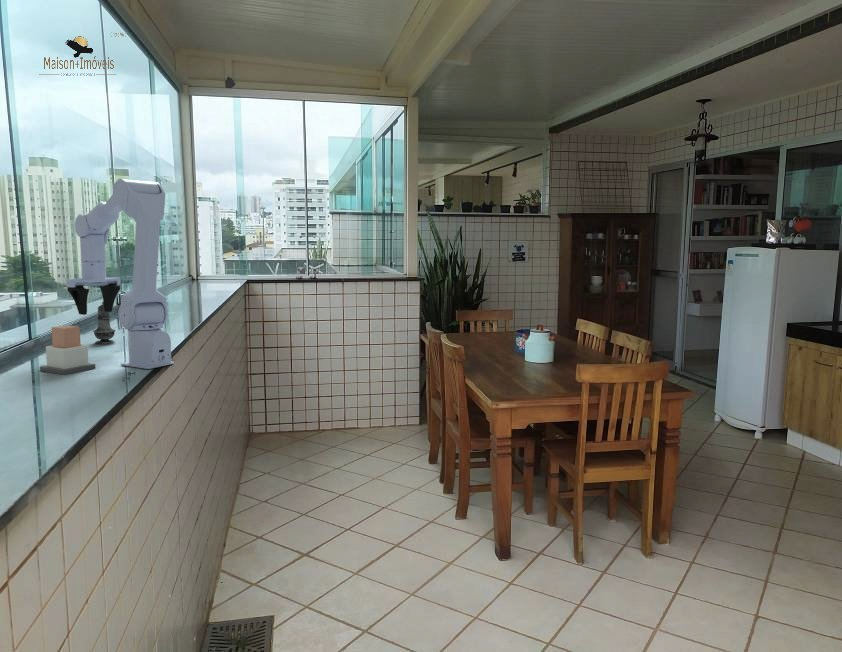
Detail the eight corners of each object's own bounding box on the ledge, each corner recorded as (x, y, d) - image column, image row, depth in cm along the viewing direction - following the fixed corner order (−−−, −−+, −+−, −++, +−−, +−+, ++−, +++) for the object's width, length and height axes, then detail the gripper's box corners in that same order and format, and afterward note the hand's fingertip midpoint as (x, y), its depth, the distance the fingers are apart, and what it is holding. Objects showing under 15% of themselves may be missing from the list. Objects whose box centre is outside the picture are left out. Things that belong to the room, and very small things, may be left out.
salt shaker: (120, 341, 181) (118, 301, 179) (108, 344, 175) (106, 303, 173) (101, 340, 181) (99, 300, 180) (88, 344, 175) (86, 302, 174)
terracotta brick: (80, 347, 142) (79, 326, 142) (64, 350, 139) (63, 328, 138) (68, 346, 144) (67, 325, 143) (52, 348, 140) (51, 327, 140)
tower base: (95, 368, 144) (94, 344, 143) (63, 374, 137) (62, 350, 136) (72, 364, 147) (71, 341, 147) (40, 370, 140) (38, 346, 139)
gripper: (106, 260, 169) (108, 309, 171) (57, 261, 156) (59, 314, 158) (125, 261, 166) (127, 311, 168) (76, 262, 153) (78, 316, 155)
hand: (95, 313), depth 163 cm, fingers open, 7 cm apart
